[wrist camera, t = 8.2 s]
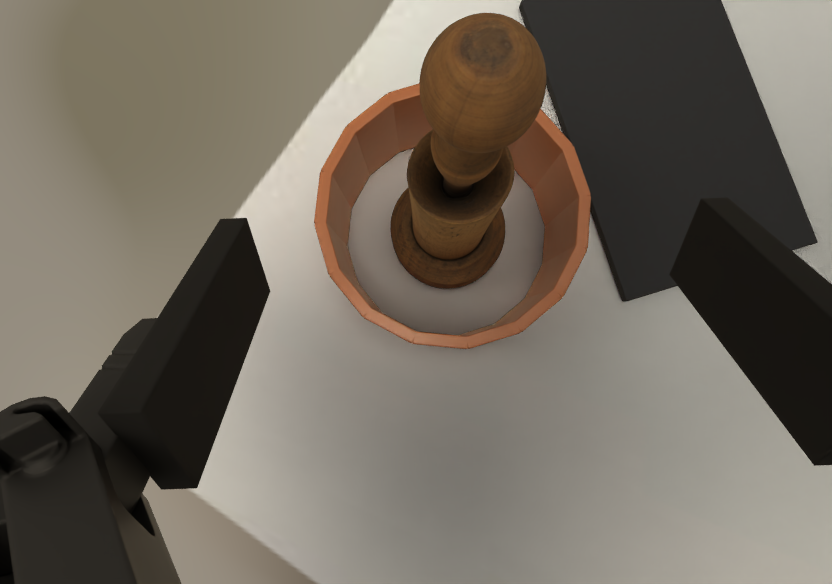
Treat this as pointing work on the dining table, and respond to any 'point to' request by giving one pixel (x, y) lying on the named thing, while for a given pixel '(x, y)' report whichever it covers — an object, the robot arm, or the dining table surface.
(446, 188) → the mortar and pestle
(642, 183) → the rubber mat
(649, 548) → the dining table surface
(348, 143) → the copper pot
